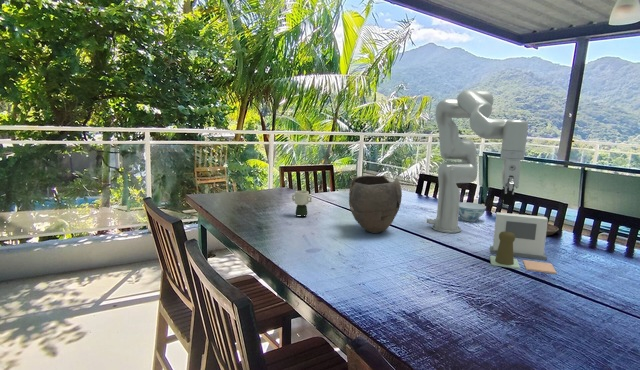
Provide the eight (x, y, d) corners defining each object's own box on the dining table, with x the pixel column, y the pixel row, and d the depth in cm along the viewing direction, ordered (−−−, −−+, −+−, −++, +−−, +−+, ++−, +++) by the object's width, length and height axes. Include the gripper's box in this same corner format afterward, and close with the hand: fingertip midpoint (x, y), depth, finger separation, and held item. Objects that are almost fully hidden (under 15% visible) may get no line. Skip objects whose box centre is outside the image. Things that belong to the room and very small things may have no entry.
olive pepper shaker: (516, 265, 133) (519, 235, 132) (497, 264, 135) (500, 233, 133) (510, 259, 139) (514, 230, 138) (493, 258, 140) (496, 229, 139)
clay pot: (404, 229, 179) (408, 176, 175) (391, 243, 157) (395, 182, 153) (356, 222, 189) (358, 172, 185) (337, 234, 167) (339, 178, 163)
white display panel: (490, 253, 148) (494, 214, 146) (489, 248, 154) (493, 211, 151) (546, 260, 141) (551, 220, 139) (543, 255, 147) (548, 216, 145)
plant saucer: (540, 225, 192) (541, 219, 192) (568, 238, 172) (569, 230, 171) (500, 225, 191) (500, 218, 191) (523, 237, 171) (524, 230, 171)
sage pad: (491, 265, 135) (491, 263, 135) (489, 257, 144) (490, 255, 143) (519, 269, 132) (519, 267, 132) (516, 260, 140) (516, 259, 140)
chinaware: (452, 221, 196) (454, 206, 194) (454, 215, 209) (455, 201, 208) (484, 225, 190) (486, 209, 189) (484, 218, 204) (485, 204, 202)
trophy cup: (313, 216, 199) (314, 191, 197) (308, 219, 193) (309, 193, 191) (294, 213, 203) (295, 189, 201) (288, 216, 197) (289, 191, 195)
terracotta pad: (526, 270, 131) (526, 268, 131) (522, 261, 140) (522, 259, 140) (556, 274, 128) (556, 272, 128) (550, 265, 137) (551, 263, 137)
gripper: (527, 158, 127) (520, 208, 130) (521, 153, 142) (515, 198, 146) (502, 156, 129) (496, 206, 132) (499, 152, 145) (494, 196, 148)
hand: (506, 202), depth 139 cm, fingers open, 9 cm apart
